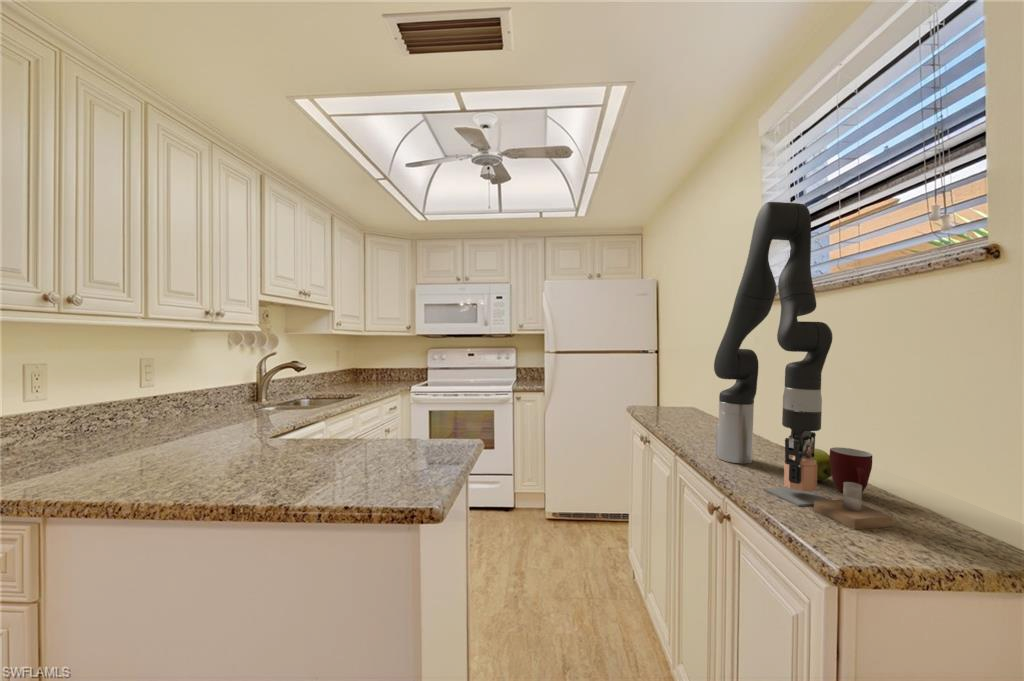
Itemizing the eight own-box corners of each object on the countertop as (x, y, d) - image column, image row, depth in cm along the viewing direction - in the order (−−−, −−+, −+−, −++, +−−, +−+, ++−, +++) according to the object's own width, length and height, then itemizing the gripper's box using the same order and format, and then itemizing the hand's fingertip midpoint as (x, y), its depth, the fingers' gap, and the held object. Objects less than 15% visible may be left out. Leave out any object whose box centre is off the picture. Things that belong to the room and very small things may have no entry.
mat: (763, 489, 105) (763, 488, 105) (798, 488, 107) (798, 486, 107) (798, 506, 95) (798, 504, 95) (836, 503, 97) (836, 502, 97)
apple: (820, 474, 118) (821, 445, 118) (842, 486, 109) (843, 454, 109) (790, 473, 119) (791, 444, 119) (809, 484, 110) (810, 453, 110)
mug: (887, 505, 97) (889, 460, 97) (847, 502, 98) (849, 458, 98) (856, 488, 108) (858, 448, 108) (821, 486, 109) (822, 446, 109)
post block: (813, 510, 93) (815, 478, 93) (848, 508, 95) (849, 476, 95) (854, 529, 84) (855, 493, 84) (892, 526, 86) (893, 491, 86)
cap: (789, 480, 105) (789, 454, 105) (818, 487, 101) (819, 459, 101) (781, 486, 101) (781, 459, 101) (811, 493, 97) (812, 465, 97)
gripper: (793, 402, 109) (791, 469, 109) (772, 408, 99) (770, 481, 99) (829, 407, 103) (827, 477, 103) (811, 413, 93) (809, 491, 94)
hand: (799, 479), depth 101 cm, fingers closed on cap, 6 cm apart
